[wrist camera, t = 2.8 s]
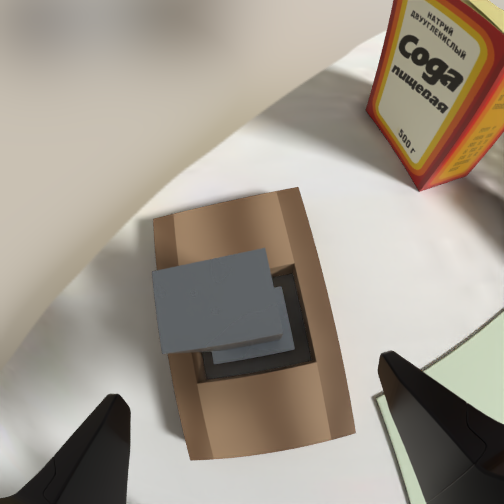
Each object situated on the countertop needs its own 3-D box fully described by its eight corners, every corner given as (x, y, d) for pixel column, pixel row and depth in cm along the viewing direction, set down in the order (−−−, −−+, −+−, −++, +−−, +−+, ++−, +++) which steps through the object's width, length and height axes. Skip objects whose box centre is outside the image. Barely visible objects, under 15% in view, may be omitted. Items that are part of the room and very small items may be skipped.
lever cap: (218, 363, 19) (143, 380, 8) (208, 305, 20) (129, 253, 9) (293, 349, 18) (316, 353, 8) (281, 290, 20) (284, 219, 9)
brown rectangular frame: (200, 448, 17) (190, 460, 14) (165, 232, 22) (153, 218, 19) (346, 423, 16) (355, 433, 14) (296, 204, 22) (298, 187, 19)
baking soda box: (365, 110, 24) (400, -40, 9) (414, 102, 24) (460, -23, 9) (419, 191, 21) (517, 39, 6) (466, 176, 21) (555, 55, 6)
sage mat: (412, 512, 13) (414, 513, 13) (375, 398, 17) (377, 398, 16) (530, 417, 13) (532, 418, 13) (506, 308, 17) (508, 307, 17)
